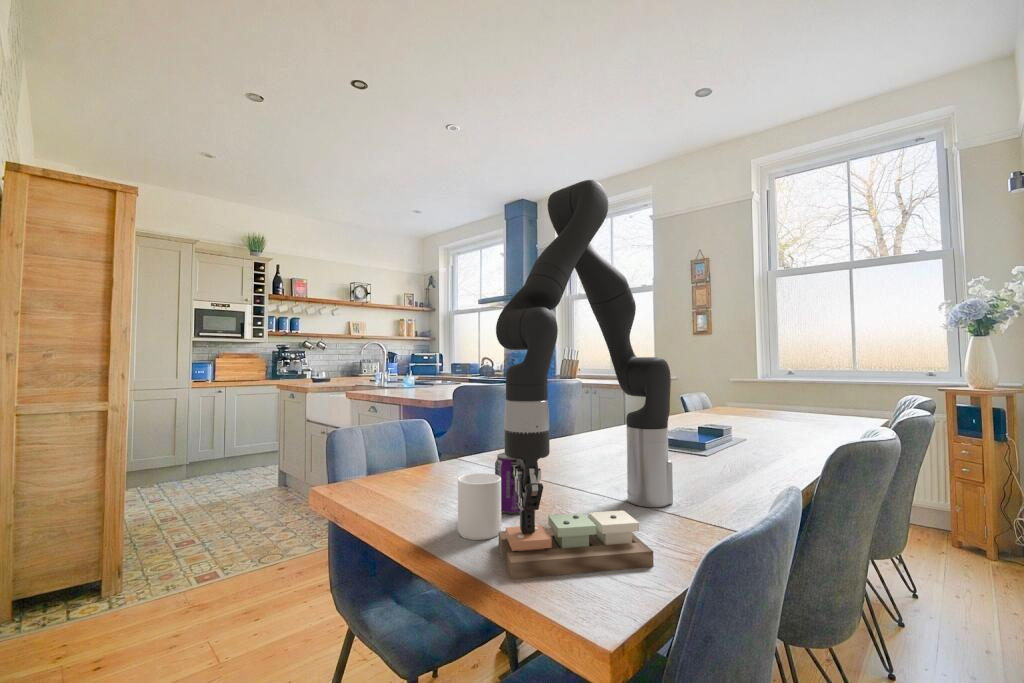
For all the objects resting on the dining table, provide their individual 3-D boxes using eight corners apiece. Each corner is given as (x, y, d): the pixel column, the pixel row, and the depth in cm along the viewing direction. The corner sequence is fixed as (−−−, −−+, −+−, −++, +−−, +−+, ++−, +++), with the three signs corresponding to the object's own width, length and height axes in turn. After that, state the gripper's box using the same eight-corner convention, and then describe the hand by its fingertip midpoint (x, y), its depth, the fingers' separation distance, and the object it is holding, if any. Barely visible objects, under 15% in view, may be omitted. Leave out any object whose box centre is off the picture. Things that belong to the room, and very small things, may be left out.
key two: (583, 535, 83) (583, 511, 83) (596, 549, 76) (596, 524, 76) (548, 537, 81) (548, 514, 82) (558, 552, 75) (558, 527, 75)
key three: (542, 547, 81) (542, 523, 81) (551, 563, 75) (551, 537, 75) (505, 550, 80) (505, 526, 80) (512, 567, 74) (512, 540, 74)
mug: (459, 519, 97) (459, 469, 97) (499, 518, 97) (499, 468, 98) (456, 541, 85) (456, 484, 85) (502, 540, 85) (502, 483, 86)
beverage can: (524, 516, 98) (524, 459, 99) (491, 514, 100) (491, 457, 100) (530, 506, 105) (529, 452, 106) (499, 504, 107) (499, 451, 107)
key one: (623, 532, 84) (623, 509, 84) (639, 546, 78) (639, 521, 78) (589, 534, 83) (589, 511, 83) (602, 549, 76) (602, 524, 77)
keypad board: (620, 536, 87) (620, 522, 87) (653, 566, 74) (653, 551, 74) (498, 545, 83) (498, 531, 83) (510, 578, 70) (510, 562, 71)
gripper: (559, 432, 72) (560, 546, 72) (539, 421, 85) (540, 517, 85) (511, 433, 71) (511, 549, 70) (499, 422, 84) (499, 520, 84)
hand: (527, 532), depth 78 cm, fingers closed
